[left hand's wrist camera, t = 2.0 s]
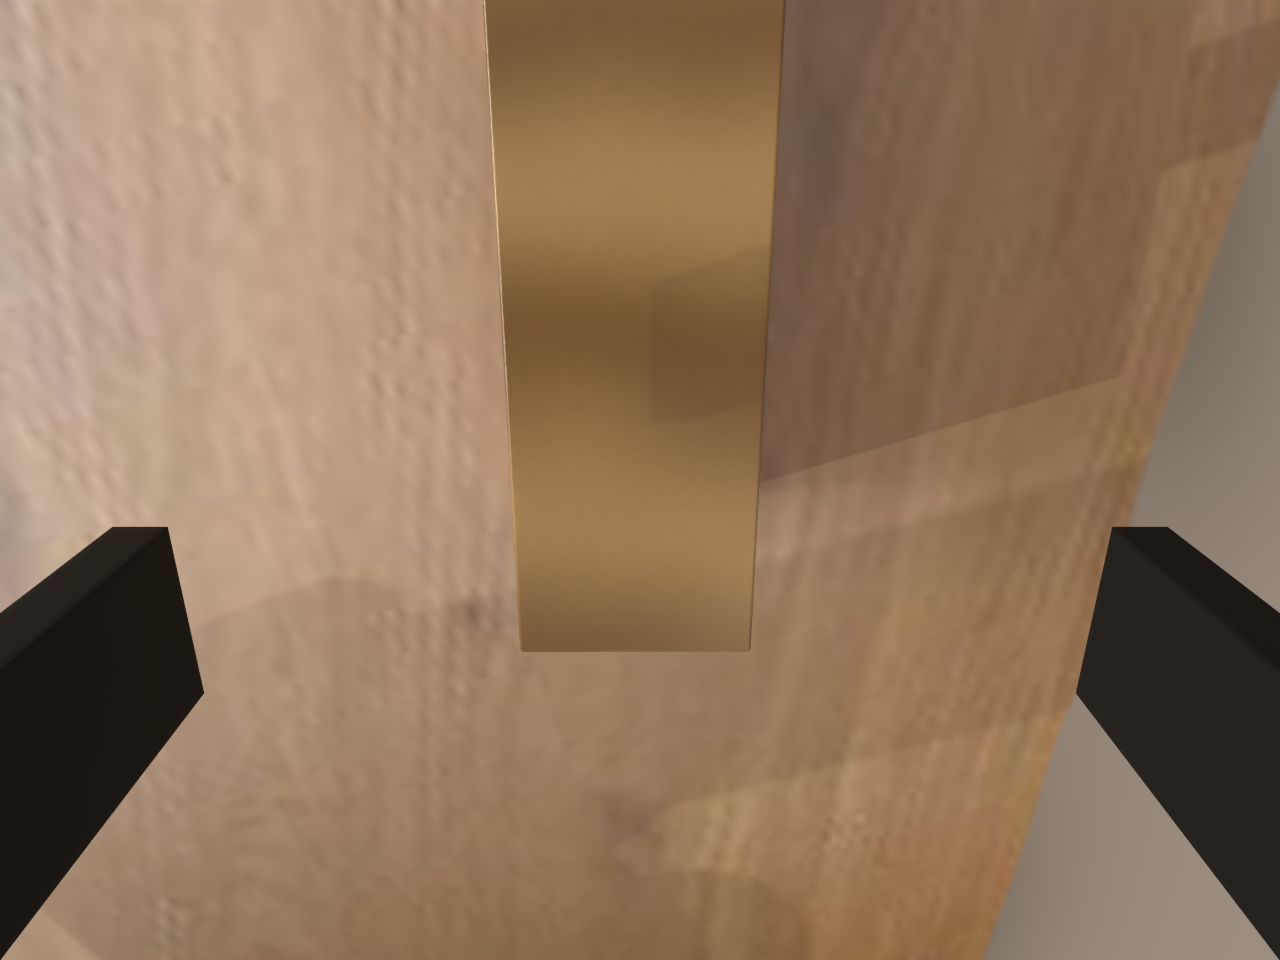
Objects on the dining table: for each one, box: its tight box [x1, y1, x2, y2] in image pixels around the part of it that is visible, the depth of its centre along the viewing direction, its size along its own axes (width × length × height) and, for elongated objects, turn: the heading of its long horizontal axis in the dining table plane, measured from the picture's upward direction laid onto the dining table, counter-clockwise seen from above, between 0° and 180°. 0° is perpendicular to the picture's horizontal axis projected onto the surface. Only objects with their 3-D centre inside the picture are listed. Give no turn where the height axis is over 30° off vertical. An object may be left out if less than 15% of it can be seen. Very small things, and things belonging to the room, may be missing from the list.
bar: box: [483, 0, 786, 652], centre depth 19 cm, size 22×5×9 cm, turn 0°
